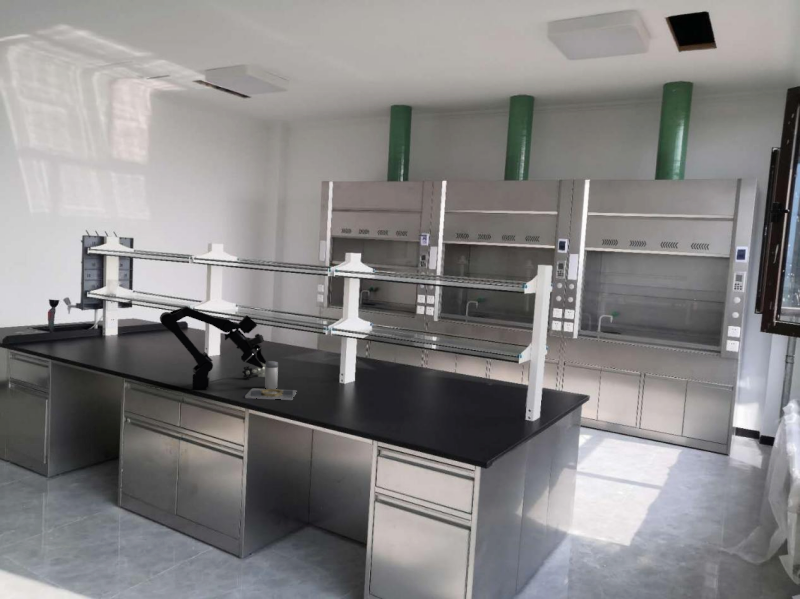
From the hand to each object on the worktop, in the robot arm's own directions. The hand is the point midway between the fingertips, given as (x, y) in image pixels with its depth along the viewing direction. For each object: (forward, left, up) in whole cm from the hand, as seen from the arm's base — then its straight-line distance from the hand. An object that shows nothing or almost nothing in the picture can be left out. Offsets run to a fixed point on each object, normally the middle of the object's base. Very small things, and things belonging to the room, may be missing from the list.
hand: (264, 365), depth 287 cm
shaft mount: (+4, -14, -10) cm, 18 cm away
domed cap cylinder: (+3, -1, -10) cm, 11 cm away
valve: (-5, +21, -11) cm, 24 cm away
